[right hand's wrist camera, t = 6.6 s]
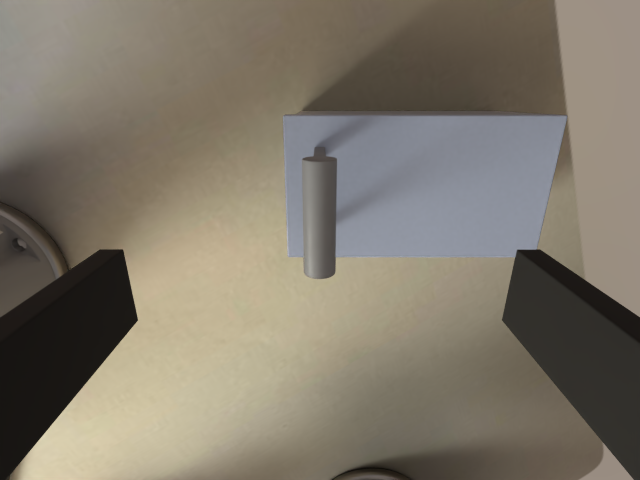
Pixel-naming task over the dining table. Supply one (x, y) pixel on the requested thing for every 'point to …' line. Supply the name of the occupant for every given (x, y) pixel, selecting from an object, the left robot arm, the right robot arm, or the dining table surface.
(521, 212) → the lid
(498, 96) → the dining table surface
